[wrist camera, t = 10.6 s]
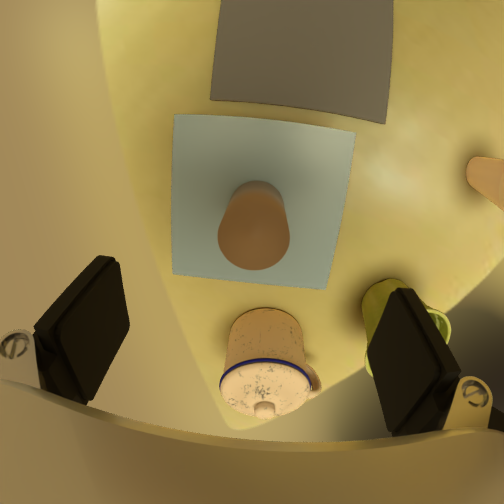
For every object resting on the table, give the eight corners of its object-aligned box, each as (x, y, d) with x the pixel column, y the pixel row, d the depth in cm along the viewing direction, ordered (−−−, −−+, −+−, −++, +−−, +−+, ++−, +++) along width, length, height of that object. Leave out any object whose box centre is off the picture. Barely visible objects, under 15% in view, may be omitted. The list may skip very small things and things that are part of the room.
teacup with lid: (215, 342, 36) (199, 419, 25) (252, 291, 32) (246, 372, 22) (294, 376, 38) (298, 449, 28) (336, 334, 34) (356, 410, 24)
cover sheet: (176, 114, 20) (141, 114, 14) (353, 132, 20) (387, 139, 14) (174, 270, 25) (149, 316, 19) (324, 285, 25) (339, 336, 19)
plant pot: (333, 321, 34) (347, 375, 26) (371, 253, 30) (402, 299, 22) (392, 336, 35) (414, 385, 27) (432, 278, 31) (466, 321, 23)
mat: (229, -42, 17) (228, -44, 17) (391, -15, 17) (392, -17, 17) (211, 100, 24) (210, 99, 24) (383, 124, 24) (385, 124, 23)
